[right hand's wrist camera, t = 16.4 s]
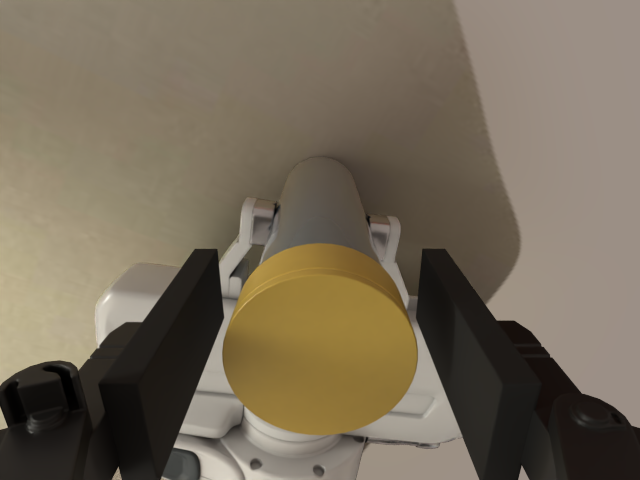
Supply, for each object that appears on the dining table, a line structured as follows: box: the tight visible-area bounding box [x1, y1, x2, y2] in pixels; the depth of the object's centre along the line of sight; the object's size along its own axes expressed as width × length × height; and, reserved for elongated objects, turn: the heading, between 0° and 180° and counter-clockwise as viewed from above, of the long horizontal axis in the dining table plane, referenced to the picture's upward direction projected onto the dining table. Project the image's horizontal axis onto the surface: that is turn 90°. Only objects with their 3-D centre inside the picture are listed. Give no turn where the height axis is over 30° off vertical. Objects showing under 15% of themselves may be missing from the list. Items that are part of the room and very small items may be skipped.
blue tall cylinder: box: [258, 157, 382, 266], centre depth 18 cm, size 4×4×16 cm
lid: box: [222, 243, 418, 435], centre depth 11 cm, size 5×5×2 cm
